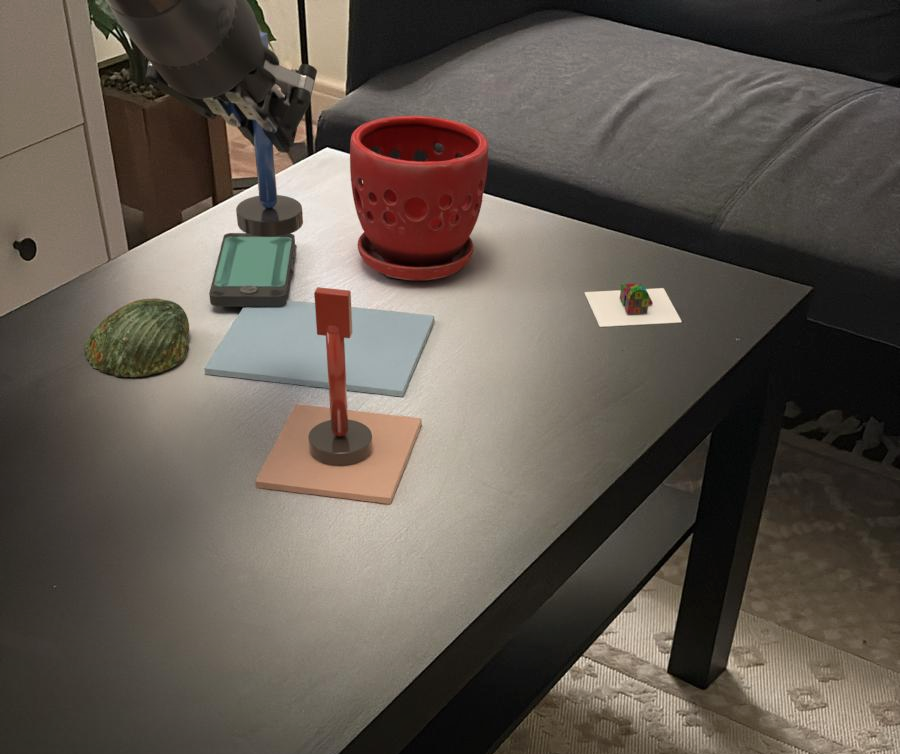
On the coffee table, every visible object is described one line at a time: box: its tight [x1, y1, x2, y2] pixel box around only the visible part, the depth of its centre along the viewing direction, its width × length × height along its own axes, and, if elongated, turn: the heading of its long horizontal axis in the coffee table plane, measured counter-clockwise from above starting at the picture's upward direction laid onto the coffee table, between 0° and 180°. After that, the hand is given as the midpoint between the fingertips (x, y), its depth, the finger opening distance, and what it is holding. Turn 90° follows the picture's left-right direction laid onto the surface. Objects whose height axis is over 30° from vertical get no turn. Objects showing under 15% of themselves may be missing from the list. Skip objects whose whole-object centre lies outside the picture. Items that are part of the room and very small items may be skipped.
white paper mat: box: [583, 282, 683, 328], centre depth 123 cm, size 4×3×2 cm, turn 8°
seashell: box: [84, 298, 190, 379], centre depth 115 cm, size 10×4×10 cm
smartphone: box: [208, 232, 297, 307], centre depth 126 cm, size 7×1×15 cm
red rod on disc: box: [308, 286, 373, 466], centre depth 100 cm, size 5×5×13 cm
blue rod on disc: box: [235, 31, 304, 237], centre depth 97 cm, size 5×5×13 cm
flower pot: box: [349, 115, 489, 281], centre depth 125 cm, size 13×13×12 cm
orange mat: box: [254, 403, 422, 505], centre depth 105 cm, size 11×12×1 cm
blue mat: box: [203, 299, 435, 398], centre depth 117 cm, size 18×14×1 cm
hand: (275, 138), depth 99 cm, fingers closed on blue rod on disc, 1 cm apart
